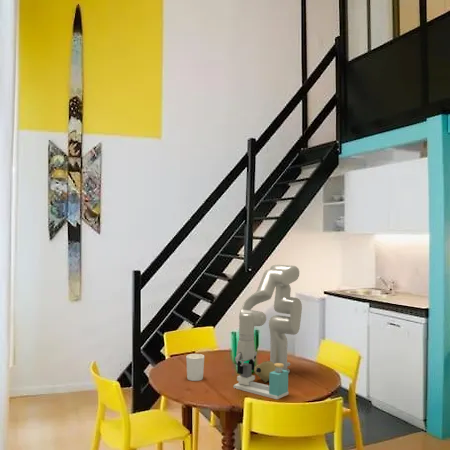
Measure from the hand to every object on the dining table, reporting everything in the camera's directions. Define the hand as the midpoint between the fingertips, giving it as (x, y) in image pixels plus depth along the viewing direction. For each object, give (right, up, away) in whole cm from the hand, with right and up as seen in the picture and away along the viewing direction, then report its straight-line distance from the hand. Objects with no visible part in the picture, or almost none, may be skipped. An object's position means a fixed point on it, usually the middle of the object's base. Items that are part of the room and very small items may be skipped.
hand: (245, 371), depth 253 cm
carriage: (0, -6, 0) cm, 6 cm away
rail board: (+7, -8, -6) cm, 12 cm away
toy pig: (+11, -8, +11) cm, 17 cm away
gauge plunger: (+15, 0, -12) cm, 20 cm away
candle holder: (-26, -8, +13) cm, 31 cm away
